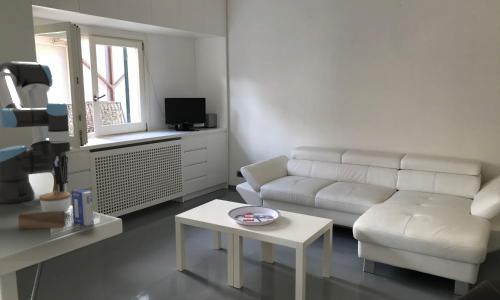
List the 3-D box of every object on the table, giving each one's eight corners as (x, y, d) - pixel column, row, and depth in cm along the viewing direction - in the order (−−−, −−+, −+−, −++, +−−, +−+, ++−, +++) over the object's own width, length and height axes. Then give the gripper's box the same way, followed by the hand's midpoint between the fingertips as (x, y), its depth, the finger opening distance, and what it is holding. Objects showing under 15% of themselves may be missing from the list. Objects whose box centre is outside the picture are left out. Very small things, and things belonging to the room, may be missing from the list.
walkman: (73, 222, 145) (71, 189, 143) (80, 220, 147) (78, 188, 146) (87, 225, 141) (85, 192, 139) (94, 223, 143) (92, 191, 142)
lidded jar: (77, 212, 157) (76, 189, 156) (52, 220, 148) (50, 195, 146) (60, 209, 162) (59, 186, 161) (34, 215, 153) (33, 191, 152)
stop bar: (22, 226, 140) (21, 212, 140) (65, 224, 142) (64, 211, 142) (19, 229, 137) (18, 215, 137) (62, 227, 139) (61, 213, 139)
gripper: (54, 140, 166) (58, 196, 169) (43, 143, 153) (48, 204, 156) (73, 140, 167) (77, 195, 170) (64, 143, 155) (68, 203, 158)
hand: (63, 199), depth 163 cm, fingers closed
